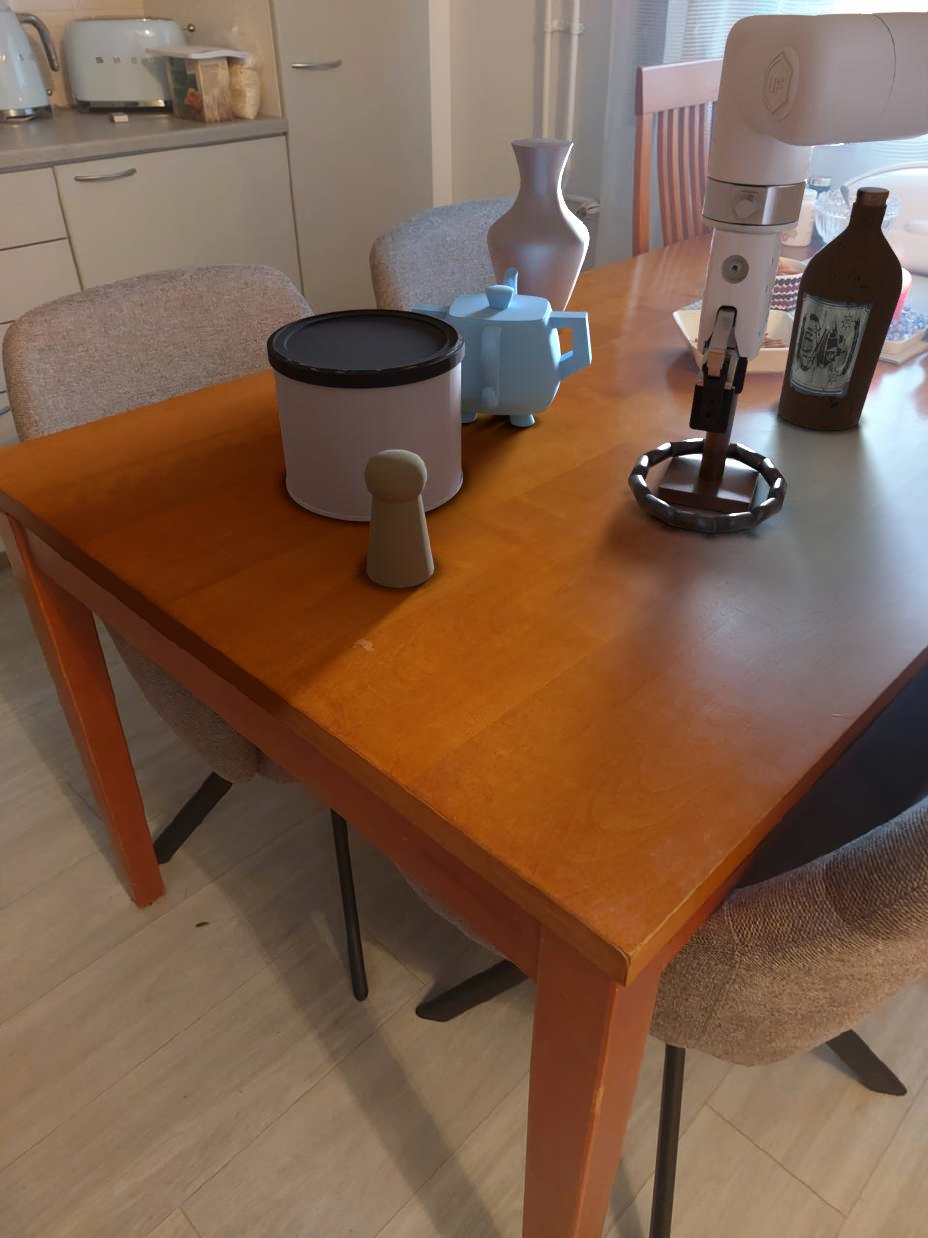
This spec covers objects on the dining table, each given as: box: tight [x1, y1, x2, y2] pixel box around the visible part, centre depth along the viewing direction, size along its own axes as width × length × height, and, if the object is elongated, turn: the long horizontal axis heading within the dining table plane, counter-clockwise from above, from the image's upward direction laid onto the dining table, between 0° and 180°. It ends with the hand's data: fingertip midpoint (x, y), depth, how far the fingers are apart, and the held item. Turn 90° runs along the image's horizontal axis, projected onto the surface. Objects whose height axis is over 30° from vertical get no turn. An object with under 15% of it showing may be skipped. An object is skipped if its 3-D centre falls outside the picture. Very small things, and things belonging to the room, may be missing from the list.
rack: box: [656, 394, 761, 514], centre depth 89 cm, size 9×9×12 cm
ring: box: [627, 437, 788, 534], centre depth 90 cm, size 15×15×2 cm
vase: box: [486, 137, 590, 312], centre depth 127 cm, size 14×14×25 cm
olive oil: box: [777, 186, 903, 431], centre depth 100 cm, size 11×11×25 cm
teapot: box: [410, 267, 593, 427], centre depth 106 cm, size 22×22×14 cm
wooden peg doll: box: [364, 449, 435, 589], centre depth 77 cm, size 6×6×11 cm
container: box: [266, 308, 465, 522], centre depth 90 cm, size 19×19×15 cm
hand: (716, 409), depth 80 cm, fingers open, 9 cm apart
